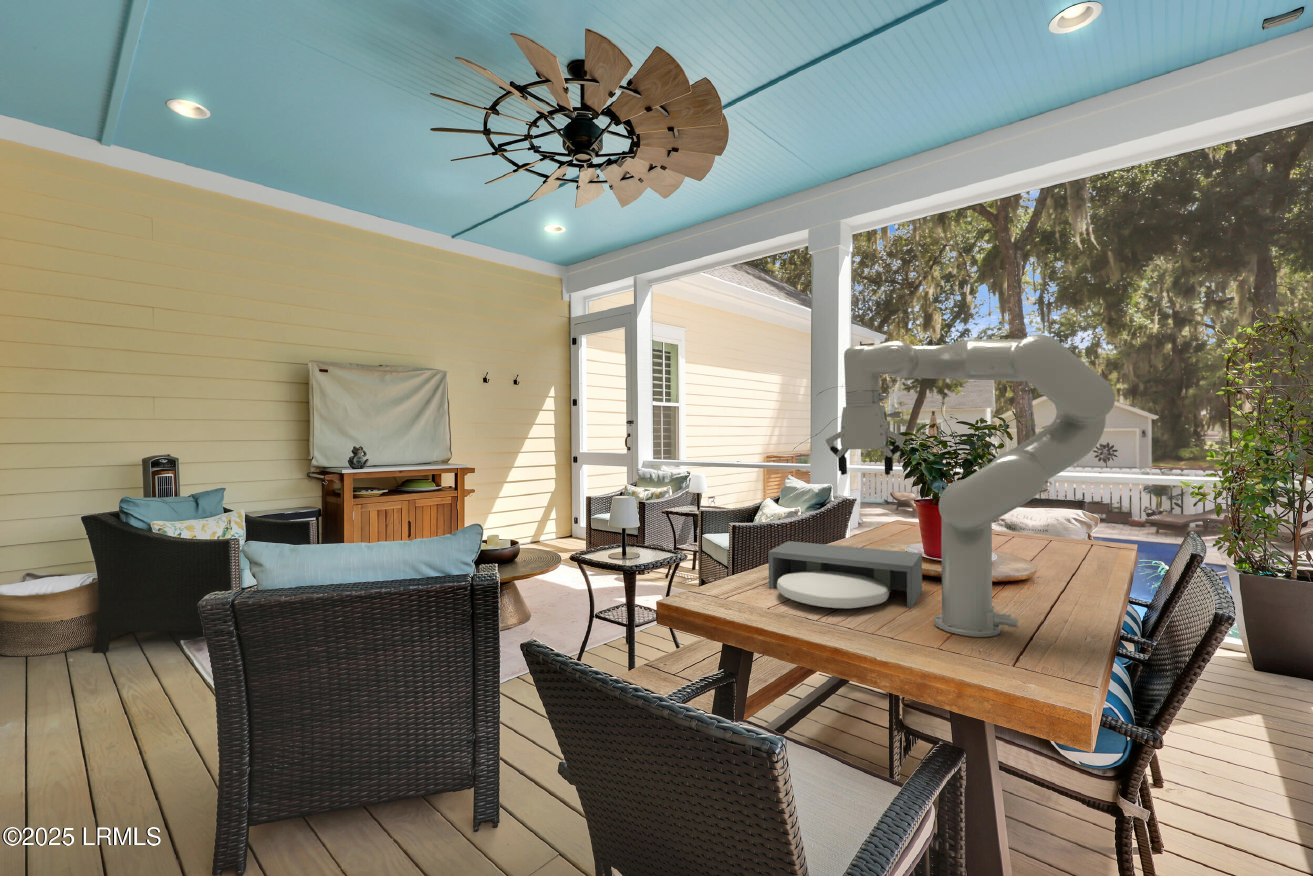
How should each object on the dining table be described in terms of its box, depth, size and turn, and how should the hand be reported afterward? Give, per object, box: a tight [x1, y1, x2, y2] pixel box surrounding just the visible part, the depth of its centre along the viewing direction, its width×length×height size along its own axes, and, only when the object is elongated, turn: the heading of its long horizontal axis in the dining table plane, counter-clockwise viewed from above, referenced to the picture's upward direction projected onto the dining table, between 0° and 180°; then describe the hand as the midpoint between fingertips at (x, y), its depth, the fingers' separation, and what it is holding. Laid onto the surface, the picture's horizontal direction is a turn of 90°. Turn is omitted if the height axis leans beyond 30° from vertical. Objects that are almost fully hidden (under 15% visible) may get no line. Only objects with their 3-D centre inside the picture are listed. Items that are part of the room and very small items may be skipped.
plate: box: [776, 571, 890, 609], centre depth 147 cm, size 28×6×27 cm
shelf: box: [767, 540, 923, 608], centre depth 155 cm, size 36×16×10 cm, turn 58°
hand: (865, 474), depth 135 cm, fingers open, 9 cm apart
